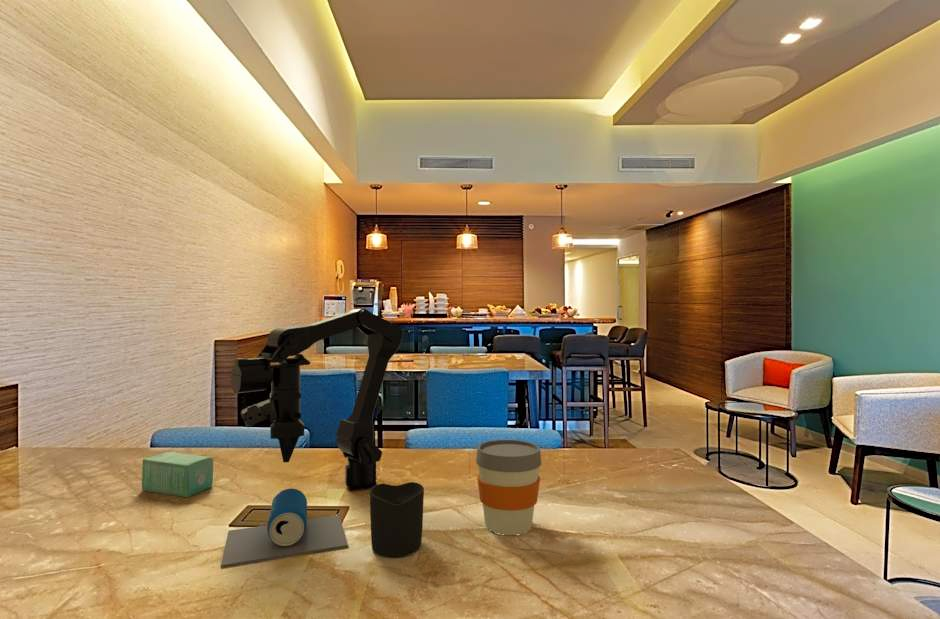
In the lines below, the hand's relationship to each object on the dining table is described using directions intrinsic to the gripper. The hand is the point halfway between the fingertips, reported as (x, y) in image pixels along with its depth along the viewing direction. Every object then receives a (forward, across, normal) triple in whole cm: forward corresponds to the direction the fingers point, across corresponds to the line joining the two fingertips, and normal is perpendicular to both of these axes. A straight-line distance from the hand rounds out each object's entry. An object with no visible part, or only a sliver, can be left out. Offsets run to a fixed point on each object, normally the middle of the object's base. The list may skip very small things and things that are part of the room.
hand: (286, 461), depth 106 cm
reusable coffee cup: (+10, +26, +39) cm, 48 cm away
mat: (+9, +16, 0) cm, 19 cm away
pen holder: (+10, +26, +17) cm, 33 cm away
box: (+10, -20, -23) cm, 32 cm away
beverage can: (+6, +8, 0) cm, 10 cm away
